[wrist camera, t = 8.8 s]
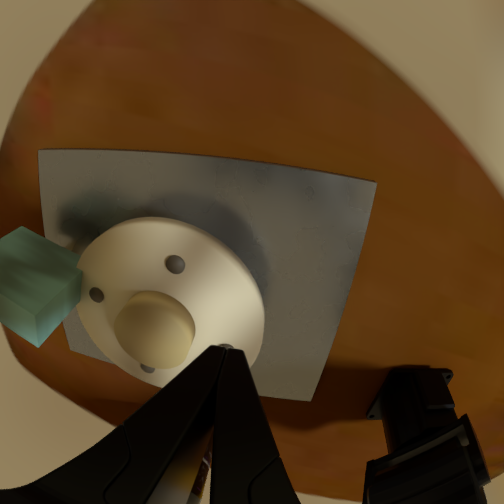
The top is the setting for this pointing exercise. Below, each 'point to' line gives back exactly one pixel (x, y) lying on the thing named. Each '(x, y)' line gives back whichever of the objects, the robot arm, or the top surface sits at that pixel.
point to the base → (227, 237)
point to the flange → (135, 294)
